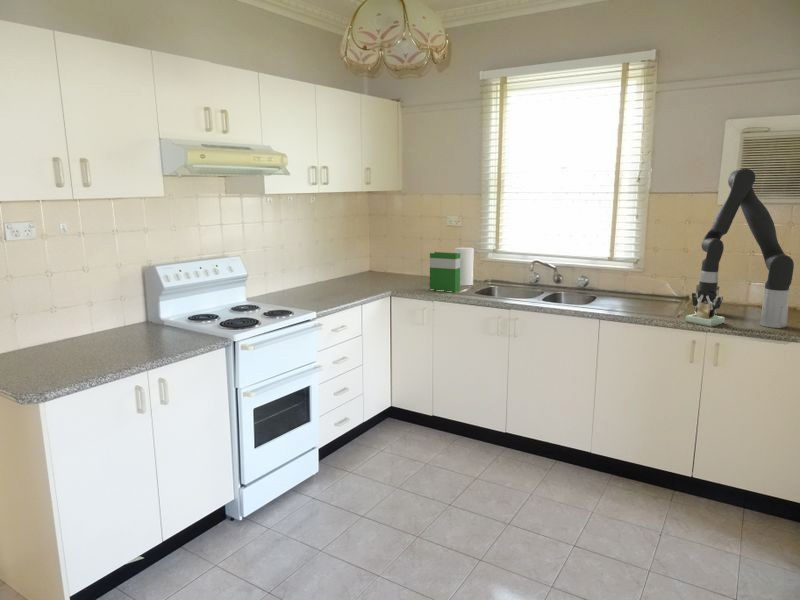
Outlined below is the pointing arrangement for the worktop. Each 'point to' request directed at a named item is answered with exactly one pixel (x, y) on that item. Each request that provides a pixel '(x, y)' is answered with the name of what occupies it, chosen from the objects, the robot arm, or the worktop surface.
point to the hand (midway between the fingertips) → (704, 316)
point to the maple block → (703, 310)
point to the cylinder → (466, 265)
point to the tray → (705, 320)
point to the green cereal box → (445, 271)
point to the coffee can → (699, 298)
